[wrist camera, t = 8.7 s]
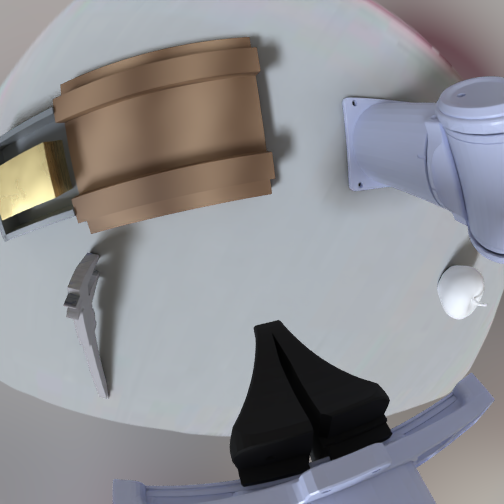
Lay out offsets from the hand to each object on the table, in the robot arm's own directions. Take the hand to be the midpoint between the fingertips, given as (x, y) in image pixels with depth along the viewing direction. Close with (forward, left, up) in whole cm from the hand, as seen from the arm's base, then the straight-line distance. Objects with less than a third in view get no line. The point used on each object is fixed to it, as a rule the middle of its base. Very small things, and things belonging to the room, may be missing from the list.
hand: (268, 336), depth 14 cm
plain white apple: (-27, +10, -10) cm, 31 cm away
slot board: (+4, -11, -10) cm, 15 cm away
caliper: (+16, +6, -10) cm, 20 cm away
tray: (+15, -11, -10) cm, 21 cm away
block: (+15, -11, -10) cm, 21 cm away
